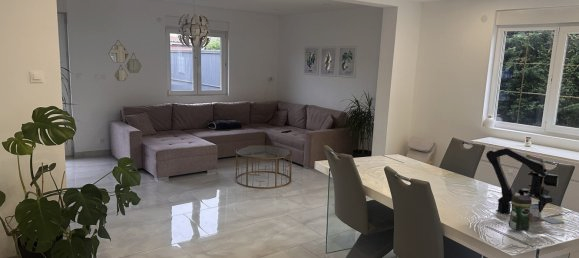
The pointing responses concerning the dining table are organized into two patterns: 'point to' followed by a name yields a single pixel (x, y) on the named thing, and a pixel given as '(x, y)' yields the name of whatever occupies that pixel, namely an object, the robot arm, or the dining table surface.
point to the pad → (552, 220)
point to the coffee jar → (520, 212)
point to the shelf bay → (534, 218)
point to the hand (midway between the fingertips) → (533, 209)
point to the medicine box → (535, 210)
